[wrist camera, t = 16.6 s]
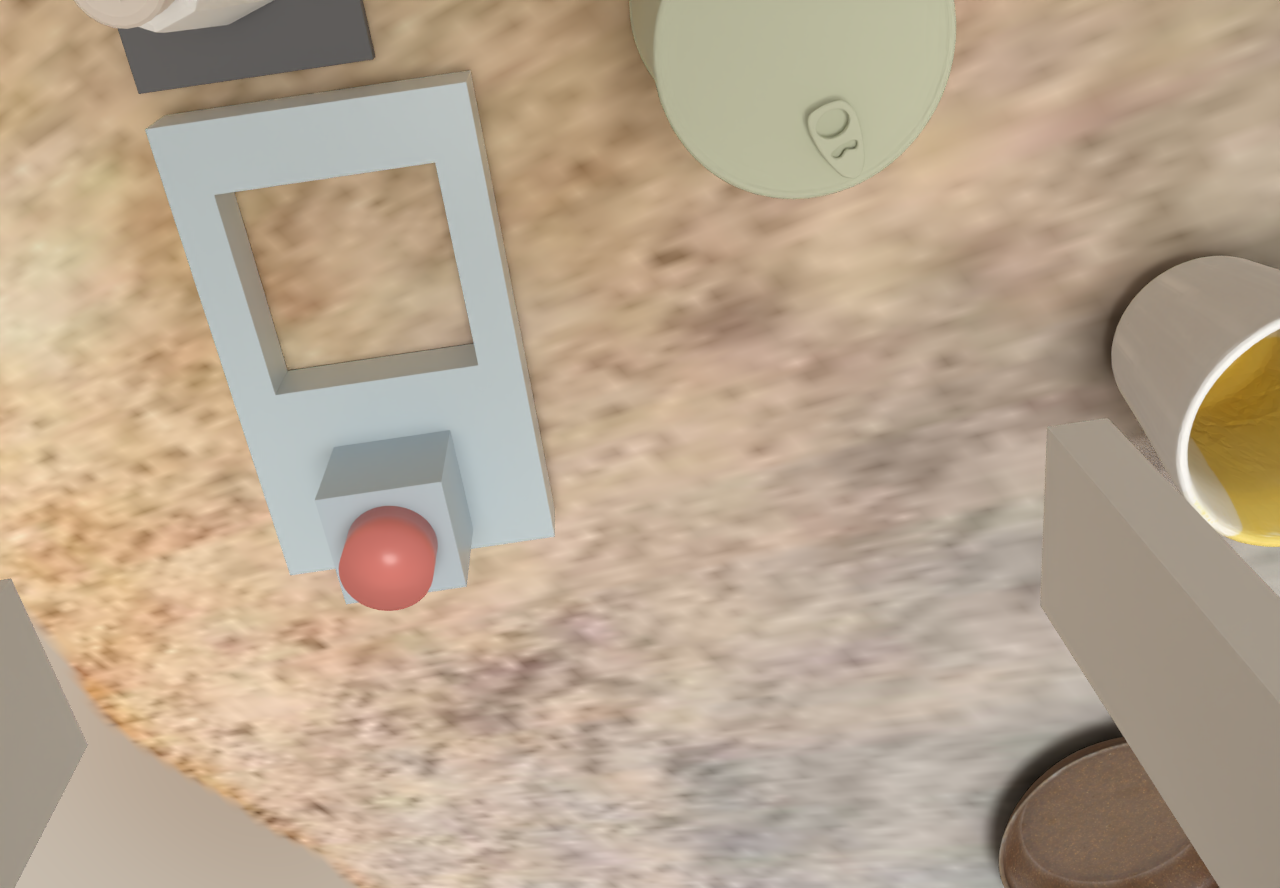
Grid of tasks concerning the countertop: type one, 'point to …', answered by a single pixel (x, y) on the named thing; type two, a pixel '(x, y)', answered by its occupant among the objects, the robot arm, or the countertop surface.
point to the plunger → (388, 558)
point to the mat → (251, 45)
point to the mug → (1210, 388)
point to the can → (796, 84)
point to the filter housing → (378, 387)
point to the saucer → (1098, 829)
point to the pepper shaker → (168, 13)
